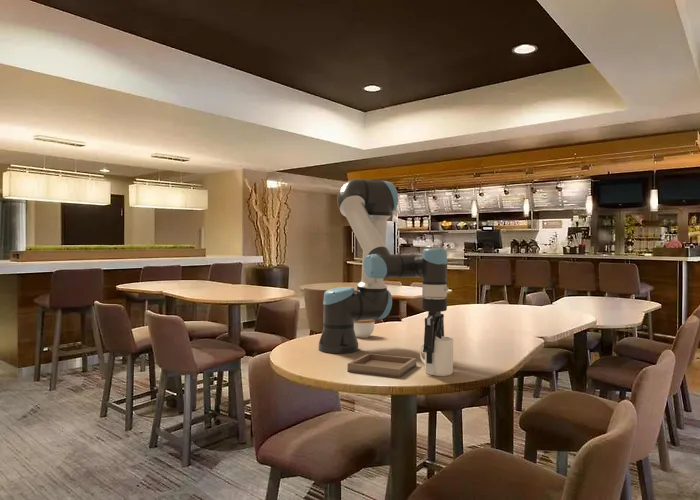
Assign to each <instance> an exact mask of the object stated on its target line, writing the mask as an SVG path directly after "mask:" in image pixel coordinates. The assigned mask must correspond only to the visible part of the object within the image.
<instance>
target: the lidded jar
mask: <svg viewBox="0 0 700 500" xmlns="http://www.w3.org/2000/svg"><path fill="white" fill-rule="evenodd" d="M375 322H376V320H358V321H354V331H355V334H356V338H361V339H363V338H369V337H370V336H371V335H372V334H373V333H374V329H375V324H376V323H375Z"/></svg>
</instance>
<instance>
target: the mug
mask: <svg viewBox="0 0 700 500" xmlns="http://www.w3.org/2000/svg"><path fill="white" fill-rule="evenodd" d="M423 348H424V342H422V343H421V345H420V348H419V357H420V358H419V359H420V360H421V363H422V364H424V371H425V372H426V352H424V358H423V356H422V351H423ZM429 348H430V347H429ZM434 352H435V374H429V375H430V376H433V377H436V376H437V377H446V376H451V375H452V374H453V373H454V338H453V337H450V336H445V335H444V336H441V339H440V338H438V337H437V336H436V338H435V346H434Z"/></svg>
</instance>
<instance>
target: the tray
mask: <svg viewBox="0 0 700 500" xmlns="http://www.w3.org/2000/svg"><path fill="white" fill-rule="evenodd" d="M415 367H417V358H416V357H410V356H409V357H407V356H397V355H396V356H395V355H388V354H377V353H367V354H365V355H362V356H360V357H358V358H356V359H354V360H352V361H350V362H348V363H347V371H346V372H348V373H357V374H364V375H372V376H378V377H379V376H380V377H389V378H396V379H397V378H399V379H400V378H401V377H403V376H404V375H406V374H407V373H408V372H410V371H411V370H413V369H414V368H415Z"/></svg>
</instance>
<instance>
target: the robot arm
mask: <svg viewBox="0 0 700 500" xmlns="http://www.w3.org/2000/svg"><path fill="white" fill-rule="evenodd" d="M336 204H337V208H338V210H339V212H340V213H341V215H342V216H343V217H345V218H346V220H347V222H348V224H349V225H350V228H351V230H352V231H353V234H354V236H355V238H356V240H357V241H358V244H359V246H360V248H361V250H362V260H361V261H362V263H361V279H360V281H359V282H358V283H357V287H356V290H355V288H354V286H340V287H339V286H338V287H335V288H330V289H327V290H326V291H324V293H323V300H322V304H323V311H322V312H323V314H322V315H323V316H322V317H323V329H322V332H321V336H320V338H319V340H318V341H319V342H318V350H319V351H320V352H323V353H330V354H347V353H353V352H357V351H359V342H358V341H359V340H358V337H356V334H355V331H354V321H358V320H375V321H377V320H381V319H385V318H386V317H387V316H389V314H390V312H391V311H392V306H393V297H392V294H391V292H390V290H388V286H387V284H386V283H385V282H384V279H394V278H395V279H396V278H399V279H402V278H404V279H405V278H406V279H407V278H420V279H421V278H422V297H423V298H422V311H425V312H427V317H425V318H424V334H423V335H424V337H423V343H424V347H423V348H422V352H423V353H425V352H426V371H425V375H426V374H427V375H430V374H435V352H434V346H435V338H436V336H437V337H438V338H440V339H441V336H444V337H445V324H444V318H445V315H444V313H442V312H445V311H447V310H448V300H447V297H448V291H449V290H450V289H449V287H447V286H448V262H449V261H448V254H447V250H446V249H445V248H424V249H423V250H422V254H415V253H413V254H411V253H410V254H391V253H390V251H389V249H388V247H387V245H386V243H387V242H386V240H387V238H386V237H387V225H388V224H387V222H388V220H389V219H390V218H391V217H392V213H393V212H395V211H396V210H397V208H398V205H399V193H398V190H397V188H396V186H395V185H394V184H393V183H392V182H390V181H387V180H381V179H379V180H378V179H365V178H364V179H363V178H362V179H361V178H353V179H350V180H348V181H346V182H345V183H343V184H342V185H341V187H340V189H339V190H338V193H337V196H336ZM429 347H430V348H429Z"/></svg>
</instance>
